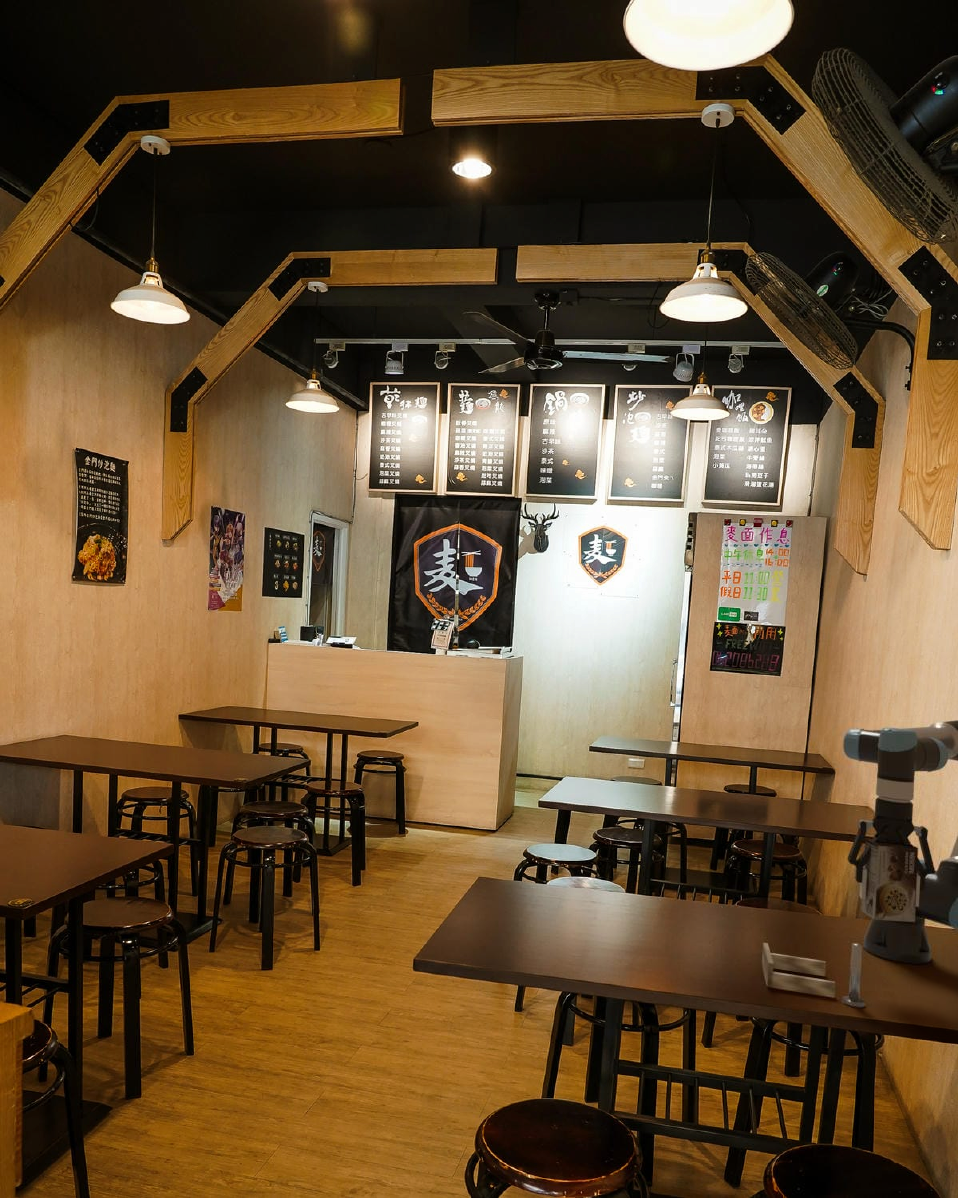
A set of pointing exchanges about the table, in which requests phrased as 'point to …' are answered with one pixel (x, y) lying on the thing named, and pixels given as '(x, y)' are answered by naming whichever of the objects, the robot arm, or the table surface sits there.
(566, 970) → the table surface
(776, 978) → the bay
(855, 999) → the post
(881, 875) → the coffee box
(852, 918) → the table surface
